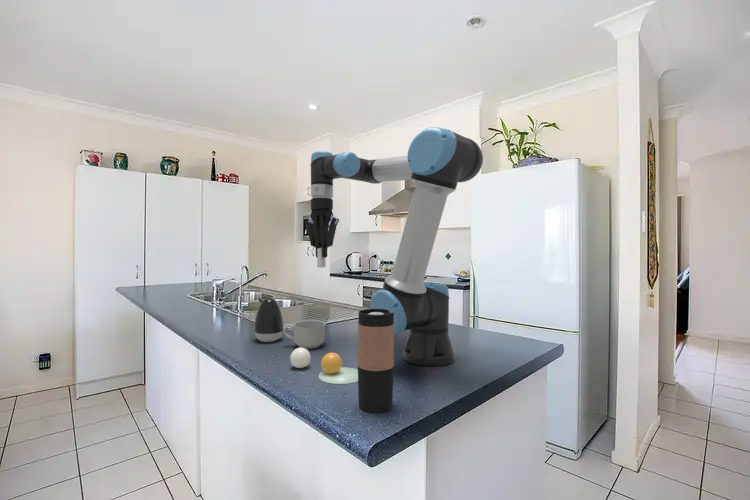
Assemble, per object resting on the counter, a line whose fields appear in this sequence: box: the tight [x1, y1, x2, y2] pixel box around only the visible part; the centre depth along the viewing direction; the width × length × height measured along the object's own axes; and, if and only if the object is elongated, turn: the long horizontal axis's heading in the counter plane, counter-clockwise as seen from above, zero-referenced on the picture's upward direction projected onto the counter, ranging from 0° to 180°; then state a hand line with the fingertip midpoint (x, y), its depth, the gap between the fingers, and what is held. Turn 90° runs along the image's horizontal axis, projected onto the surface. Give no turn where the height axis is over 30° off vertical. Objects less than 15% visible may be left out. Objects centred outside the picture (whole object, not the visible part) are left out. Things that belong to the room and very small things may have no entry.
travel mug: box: [357, 308, 395, 414], centre depth 79 cm, size 8×8×20 cm
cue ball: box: [289, 347, 311, 369], centre depth 103 cm, size 6×6×6 cm
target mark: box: [318, 366, 358, 385], centre depth 97 cm, size 12×12×1 cm
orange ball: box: [320, 352, 343, 374], centre depth 99 cm, size 6×6×6 cm
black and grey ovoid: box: [253, 297, 285, 343], centre depth 132 cm, size 10×10×15 cm
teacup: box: [282, 319, 327, 350], centre depth 125 cm, size 14×11×8 cm
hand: (321, 267), depth 128 cm, fingers closed
